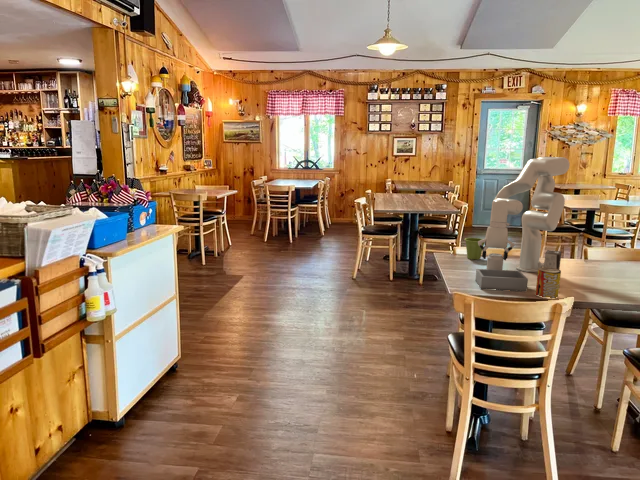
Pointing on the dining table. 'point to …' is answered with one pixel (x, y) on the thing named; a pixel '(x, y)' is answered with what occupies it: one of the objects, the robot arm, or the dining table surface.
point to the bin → (501, 280)
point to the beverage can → (548, 282)
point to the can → (495, 261)
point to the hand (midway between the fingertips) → (494, 259)
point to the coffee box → (552, 259)
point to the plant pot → (473, 248)
